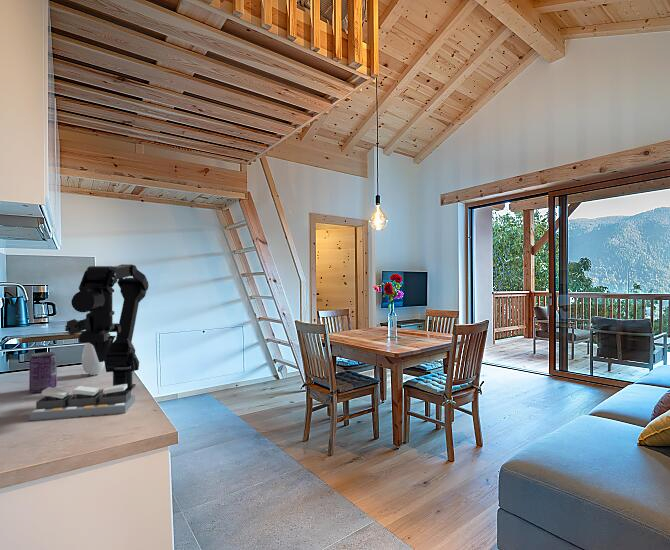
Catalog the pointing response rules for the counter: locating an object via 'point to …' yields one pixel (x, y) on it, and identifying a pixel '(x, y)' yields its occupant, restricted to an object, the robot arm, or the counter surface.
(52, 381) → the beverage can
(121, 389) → the right rocker
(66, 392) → the left rocker
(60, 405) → the switch panel
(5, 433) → the counter surface
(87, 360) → the sauce bottle
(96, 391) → the middle rocker
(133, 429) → the counter surface
